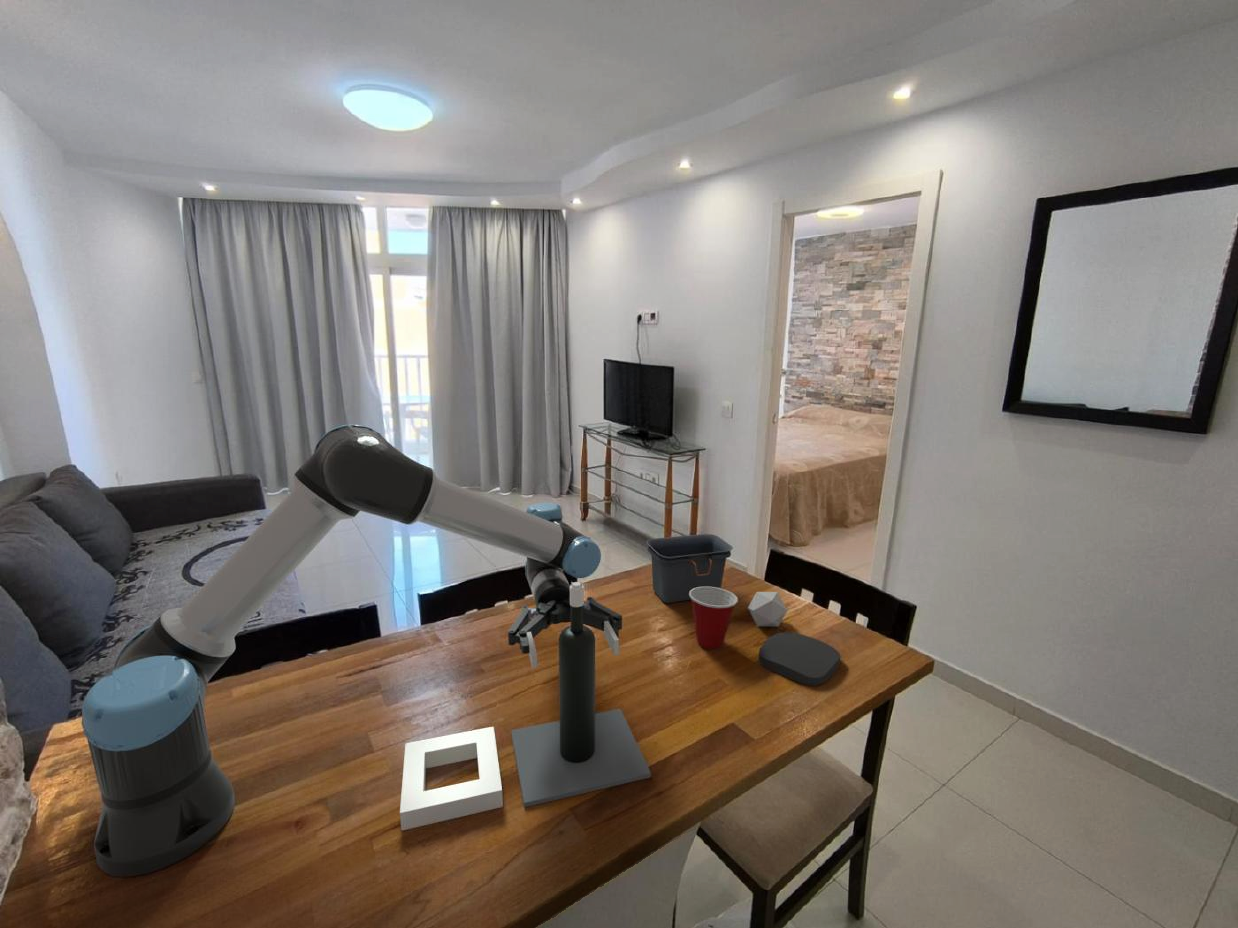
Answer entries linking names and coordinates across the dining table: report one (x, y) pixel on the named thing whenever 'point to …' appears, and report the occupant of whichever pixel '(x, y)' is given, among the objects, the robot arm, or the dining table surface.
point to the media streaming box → (799, 658)
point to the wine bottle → (577, 684)
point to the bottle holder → (454, 798)
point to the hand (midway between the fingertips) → (576, 653)
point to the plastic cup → (711, 614)
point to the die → (767, 609)
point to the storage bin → (687, 564)
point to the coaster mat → (559, 778)
